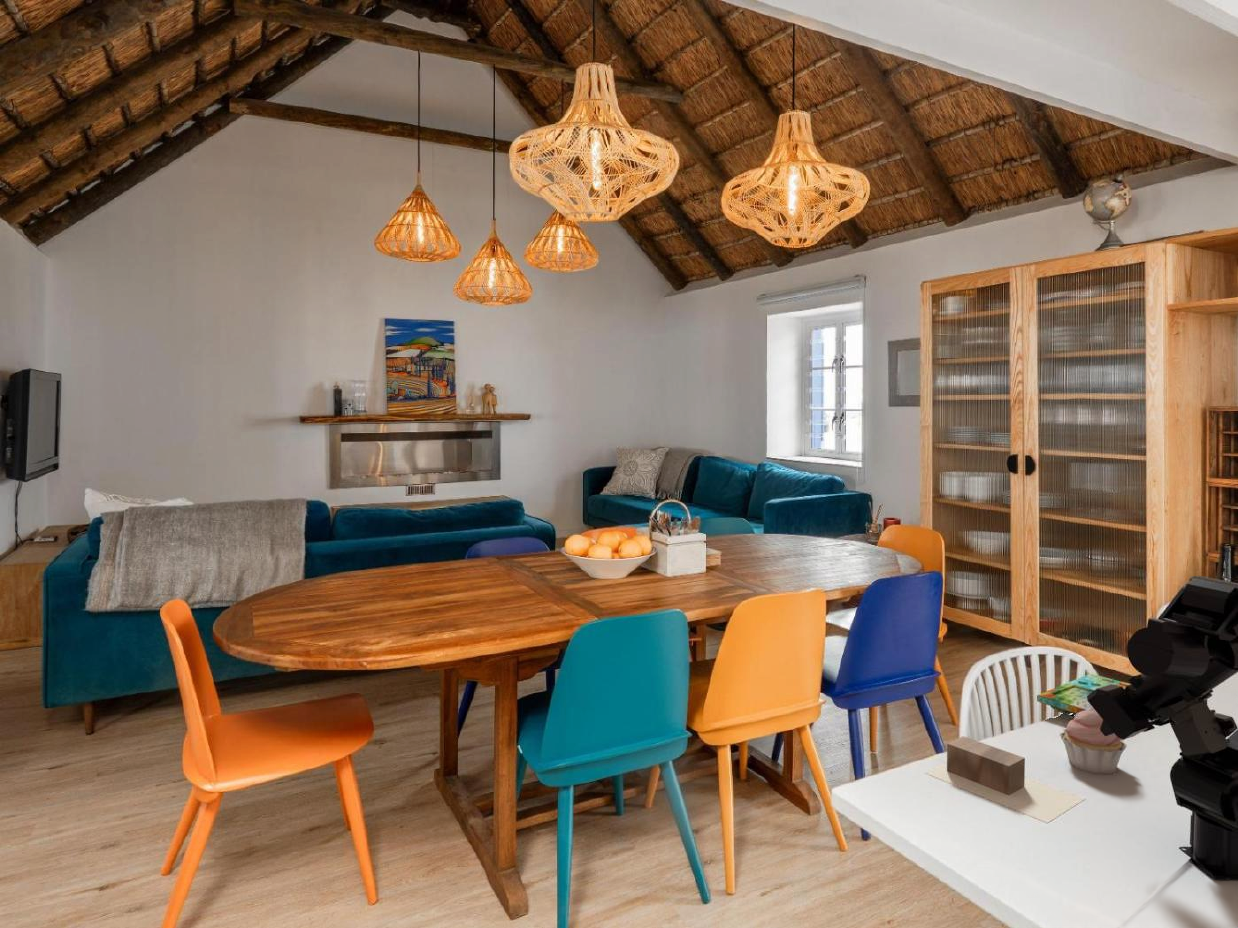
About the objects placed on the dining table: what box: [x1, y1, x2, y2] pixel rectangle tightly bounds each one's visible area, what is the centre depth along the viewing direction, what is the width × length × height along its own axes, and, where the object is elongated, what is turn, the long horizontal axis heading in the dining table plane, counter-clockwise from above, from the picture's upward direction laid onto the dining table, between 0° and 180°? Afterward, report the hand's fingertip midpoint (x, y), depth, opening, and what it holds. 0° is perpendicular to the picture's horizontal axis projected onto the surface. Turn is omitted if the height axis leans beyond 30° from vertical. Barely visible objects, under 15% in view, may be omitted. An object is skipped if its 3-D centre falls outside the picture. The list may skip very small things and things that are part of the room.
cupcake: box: [1059, 707, 1128, 775], centre depth 126 cm, size 9×9×10 cm
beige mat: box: [925, 761, 1086, 824], centre depth 120 cm, size 19×11×1 cm, turn 35°
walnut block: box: [946, 736, 1026, 796], centre depth 122 cm, size 4×4×10 cm
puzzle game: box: [1036, 673, 1131, 715], centre depth 150 cm, size 12×5×20 cm
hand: (1103, 732), depth 109 cm, fingers closed
